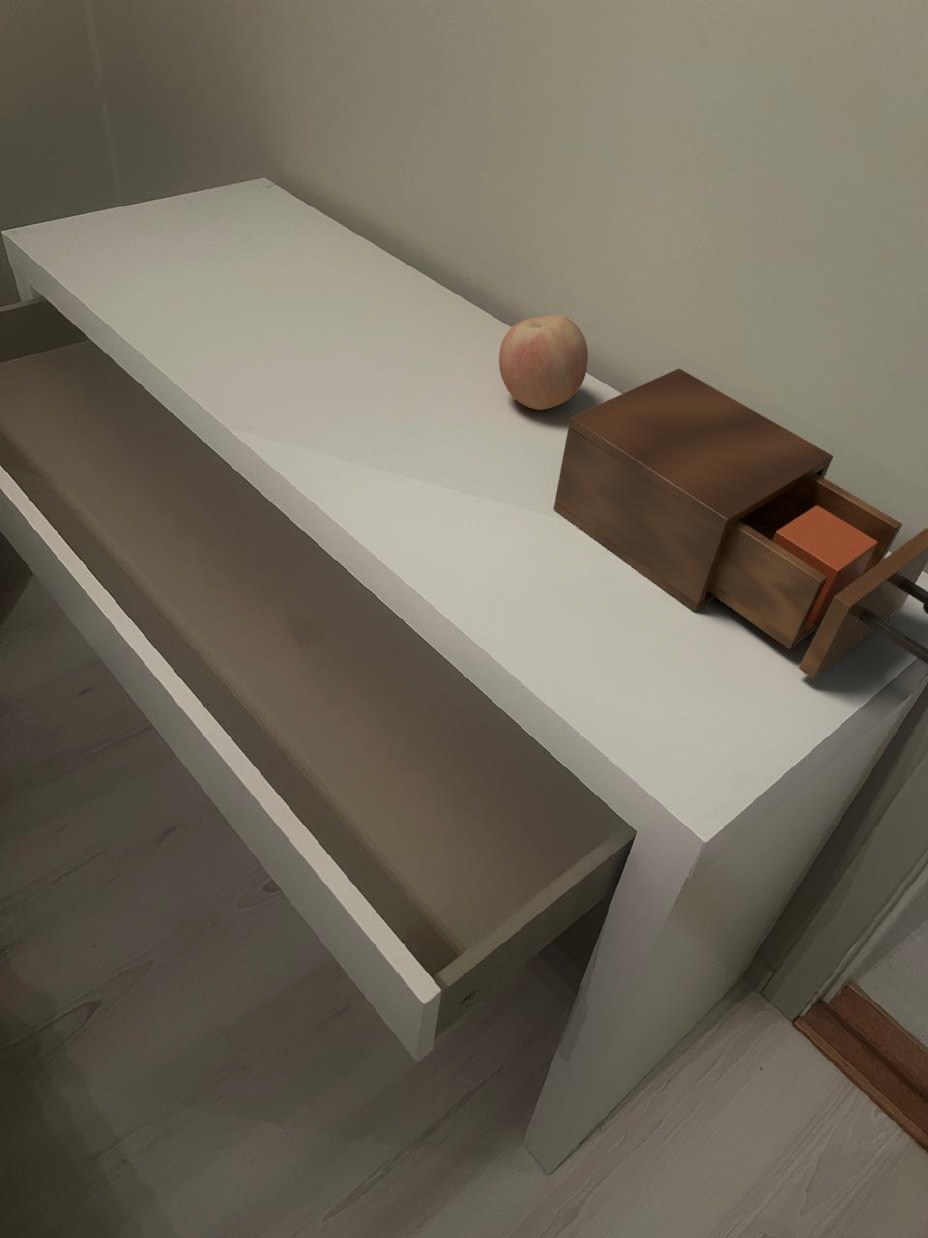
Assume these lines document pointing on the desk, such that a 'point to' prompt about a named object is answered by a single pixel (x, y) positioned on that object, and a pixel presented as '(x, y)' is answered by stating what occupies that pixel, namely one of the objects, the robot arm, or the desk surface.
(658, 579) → the cabinet
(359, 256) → the desk surface
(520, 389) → the apple
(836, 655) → the drawer
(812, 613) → the block
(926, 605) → the robot arm
